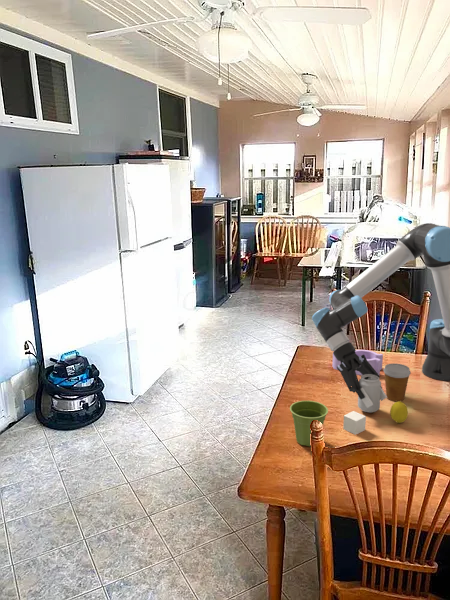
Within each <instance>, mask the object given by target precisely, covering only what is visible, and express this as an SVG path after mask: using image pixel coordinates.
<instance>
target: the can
mask: <svg viewBox="0 0 450 600" xmlns="http://www.w3.org/2000/svg"><path fill="white" fill-rule="evenodd" d="M358 381H359V384H360V389H361V388H363V389H364V390H365V392H366V394H367V395H368V397H369V398H370V400H371V401H372V403H373V405H372V406H370V407H369V408H367V407H366V406H365V404H364V402H363V401H362V399H360V398H359V396H358V395H357V408H359V409H360V410H361V411H362V412H365V413H375V412H378V411H379V410H380V407H381V400H380V393H381V387H382V381H381V380H380V377H378V376H376V375H372V374H365V375H360V379H359V378H358Z"/></svg>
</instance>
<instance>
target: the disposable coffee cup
mask: <svg viewBox="0 0 450 600" xmlns="http://www.w3.org/2000/svg"><path fill="white" fill-rule="evenodd" d="M382 370H383V373H384V381H385V394H386V396H387V398H386V399H388V400H389V401H392V402H399V401H401V402H403V401H404V400H405V397H406V393H407V392H406V391H407V386H408V381H409V377H410V375H411V373H412V372H411V370H410V367H409V366H407V365H406V364H401V363H395V362H394V363H387V364H386V365H384V368H382Z"/></svg>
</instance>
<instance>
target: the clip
mask: <svg viewBox="0 0 450 600" xmlns="http://www.w3.org/2000/svg"><path fill="white" fill-rule="evenodd" d="M355 350H356V351H355V353H356V354H357V355H358V356H362V355H365V357H366V359H367V361H368V362H369V363H370V365H371V366H372V367H373V368H374V370H375V371H376V372H377V373H378V375H379V376H381V374H380V373H381V371H382V370H383V357H384V356H383V353H377V352H375V351H372V350H368V349H355ZM340 364H341V362H340V361H338V360H337V359H336V357H335V356H334V354H333V353H332V367H333V368H332V369H334V370H337V371H339V370H338V369H337V366H339V365H340ZM355 372H356V375H357V376H362V374H361V373H360V372H359V371H357V370H356V371H355Z"/></svg>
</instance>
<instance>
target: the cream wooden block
mask: <svg viewBox="0 0 450 600" xmlns="http://www.w3.org/2000/svg"><path fill="white" fill-rule="evenodd" d="M366 417H367V416H366V415H365V414H364V415H363V414H362V413H359V412H357V411H356V410H352V411H350V412H348V413H347V414H345V415H343V426H342V428H343V430H344V431H347V432H349V433H351V434H353V435H355V436H356V434H357V435H359V434H360V433H362V432H364V431H366V420H367V418H366Z"/></svg>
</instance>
